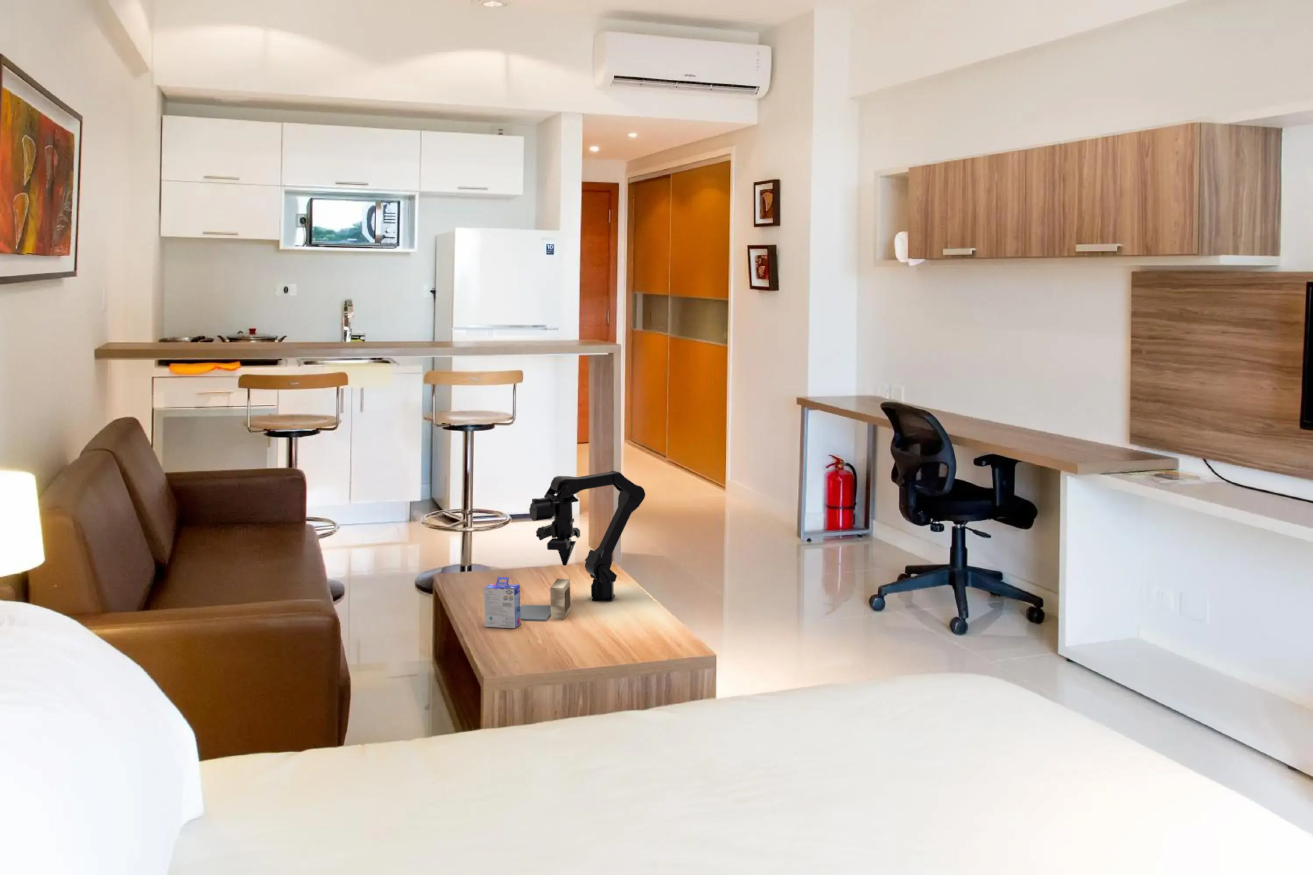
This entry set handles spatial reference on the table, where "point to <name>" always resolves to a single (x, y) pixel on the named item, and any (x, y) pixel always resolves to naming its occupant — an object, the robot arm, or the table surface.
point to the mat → (535, 612)
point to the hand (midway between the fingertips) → (564, 565)
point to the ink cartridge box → (502, 604)
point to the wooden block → (560, 599)
